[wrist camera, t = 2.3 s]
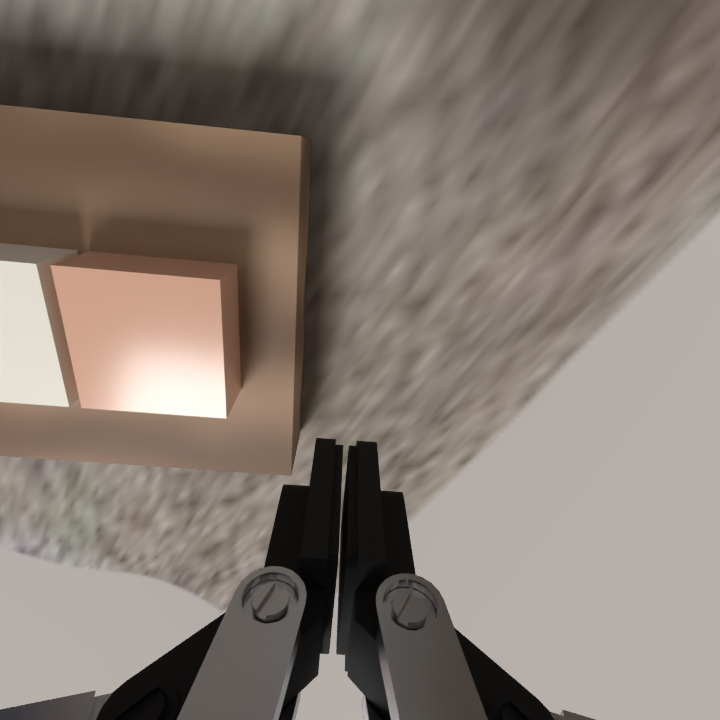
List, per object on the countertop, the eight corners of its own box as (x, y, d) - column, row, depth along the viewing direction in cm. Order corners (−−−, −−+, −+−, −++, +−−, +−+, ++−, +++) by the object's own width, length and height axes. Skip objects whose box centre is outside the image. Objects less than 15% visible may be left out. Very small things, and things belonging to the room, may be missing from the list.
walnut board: (-55, 101, 19) (-153, 88, 15) (311, 139, 19) (301, 135, 16) (31, 412, 26) (-23, 454, 22) (300, 431, 26) (291, 475, 23)
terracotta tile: (89, 251, 18) (50, 264, 15) (237, 264, 18) (219, 279, 16) (112, 379, 20) (81, 407, 18) (241, 389, 20) (226, 418, 18)
